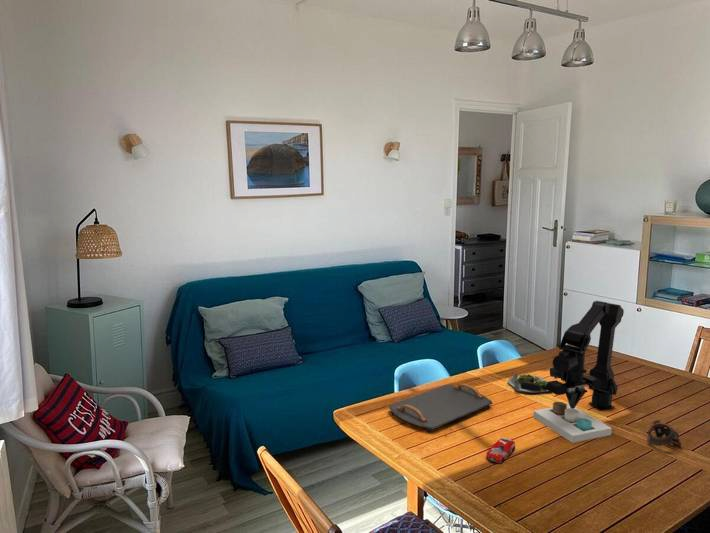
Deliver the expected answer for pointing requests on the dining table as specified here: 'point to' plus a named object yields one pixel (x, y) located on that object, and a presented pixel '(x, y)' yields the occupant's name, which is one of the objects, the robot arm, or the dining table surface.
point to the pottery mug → (660, 431)
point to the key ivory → (571, 415)
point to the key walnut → (559, 408)
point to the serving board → (440, 405)
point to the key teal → (584, 424)
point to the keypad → (572, 425)
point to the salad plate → (529, 384)
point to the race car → (501, 450)
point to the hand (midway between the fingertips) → (572, 408)
